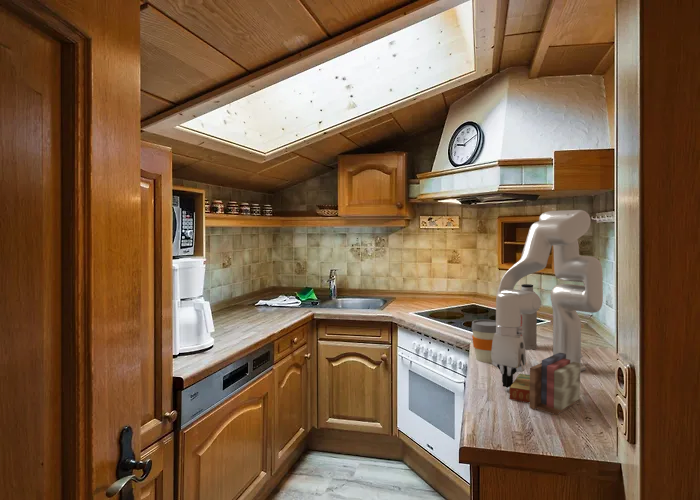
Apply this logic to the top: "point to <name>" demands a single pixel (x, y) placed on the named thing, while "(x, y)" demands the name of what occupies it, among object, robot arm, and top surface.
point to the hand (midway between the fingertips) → (507, 386)
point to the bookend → (554, 384)
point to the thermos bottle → (529, 324)
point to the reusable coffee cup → (483, 339)
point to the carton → (520, 388)
